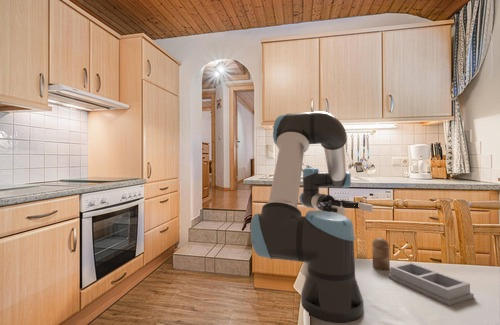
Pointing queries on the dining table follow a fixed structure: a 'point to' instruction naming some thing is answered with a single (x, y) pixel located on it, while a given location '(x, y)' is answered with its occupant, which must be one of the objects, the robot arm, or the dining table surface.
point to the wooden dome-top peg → (380, 254)
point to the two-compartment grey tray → (431, 283)
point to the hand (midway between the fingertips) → (358, 210)
